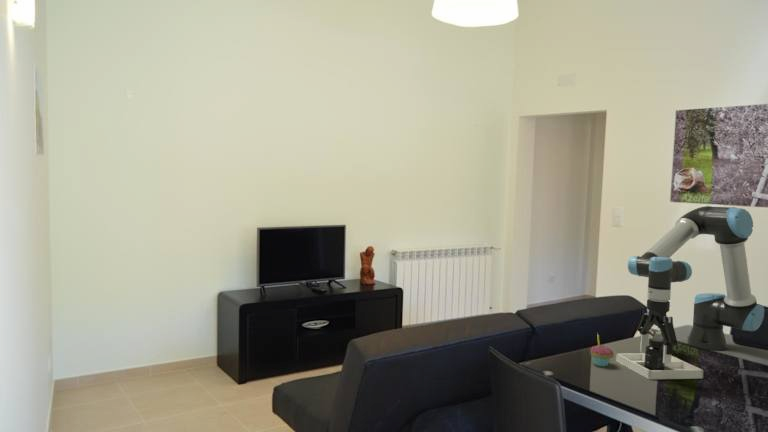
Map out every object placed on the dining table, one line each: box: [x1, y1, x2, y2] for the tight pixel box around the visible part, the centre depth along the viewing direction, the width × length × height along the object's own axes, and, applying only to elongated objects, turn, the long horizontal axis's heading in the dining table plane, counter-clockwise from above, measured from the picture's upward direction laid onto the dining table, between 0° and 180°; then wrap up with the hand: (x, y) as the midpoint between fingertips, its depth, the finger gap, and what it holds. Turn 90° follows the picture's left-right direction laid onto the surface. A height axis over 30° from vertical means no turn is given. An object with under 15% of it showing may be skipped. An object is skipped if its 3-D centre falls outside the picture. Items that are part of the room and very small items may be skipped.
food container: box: [643, 327, 664, 353], centre depth 241 cm, size 12×6×10 cm, turn 179°
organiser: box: [615, 352, 705, 380], centre depth 221 cm, size 21×21×3 cm
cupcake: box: [589, 332, 615, 367], centre depth 225 cm, size 9×8×12 cm
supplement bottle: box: [644, 338, 665, 370], centre depth 215 cm, size 7×7×12 cm
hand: (655, 357), depth 215 cm, fingers open, 13 cm apart
